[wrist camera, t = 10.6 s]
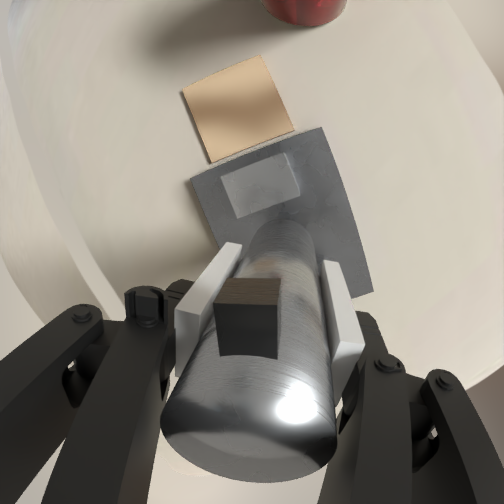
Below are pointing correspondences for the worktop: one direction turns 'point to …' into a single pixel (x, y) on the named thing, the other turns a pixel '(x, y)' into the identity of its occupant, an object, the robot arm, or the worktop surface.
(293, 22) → the soda can
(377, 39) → the worktop surface
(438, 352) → the worktop surface
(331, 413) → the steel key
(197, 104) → the cork mat
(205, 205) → the block
